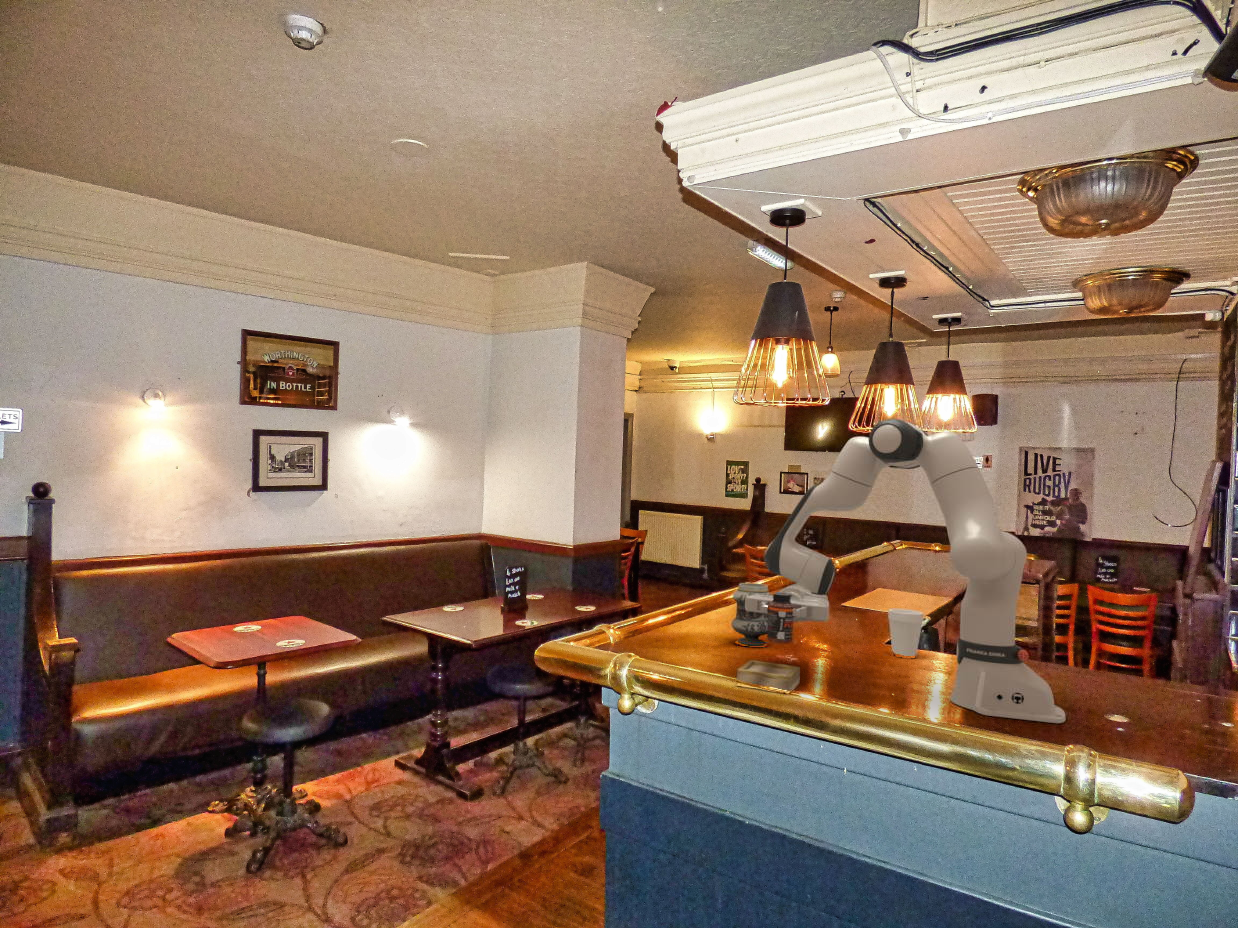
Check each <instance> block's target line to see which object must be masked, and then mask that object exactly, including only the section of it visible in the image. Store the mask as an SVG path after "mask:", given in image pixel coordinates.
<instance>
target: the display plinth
mask: <svg viewBox="0 0 1238 928" xmlns="http://www.w3.org/2000/svg"><path fill="white" fill-rule="evenodd" d="M736 672H737V673H736V681H737V680H740V681H743V682H747V683H752V684H756V685H762V686H769V687H775V688H778V689H782V690H787V691H791V692H792V691H794V689H795V688H797V686H799V684H800V681H801V680H800V678H801V674H800V673H801V666H796V665H788V664H782V663H781V664H780V663H775V662H774V663H773V662H769V661H768V662H767V661H761V660H754V659H750V660H749V661H747V662H746V663H745V664H743V665H741V666H740V667H738V669H737V671H736Z"/></svg>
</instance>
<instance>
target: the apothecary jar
mask: <svg viewBox="0 0 1238 928" xmlns="http://www.w3.org/2000/svg"><path fill="white" fill-rule="evenodd" d="M768 587H769V586H768V585H767V584H763V583H753V582H751V583H750V582H740V583H739V584H738V588H737V590H735V591H734V593H733V594H732V597H733V601H735V602H736V616H735V618H733V620H732V621H731V627H732V629H733V630H734V632H736V633H738V634H740V635H742V636H744V637H741V638H739V639H737V640H738V642H739V643H741V644H745V645H748V646H763V645H764V644H766V643H767V642H766V641H764V640H763V639H759V638H760V637H762V636H765V635H767V626H768V614H766V613H758V612H750V611H747V610H745V598H746V597H747V596H750V595H768V596H773V595H772V594H771V592H769V589H768Z"/></svg>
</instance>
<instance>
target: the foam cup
mask: <svg viewBox="0 0 1238 928" xmlns="http://www.w3.org/2000/svg"><path fill="white" fill-rule="evenodd" d="M887 610H888V611H887V612H888V613H887V614H888V615H887V618H888V624H889V631H890V643H891V644H890V645H891V652H892V651H893V652H894V653H896V654H900V655H904V656H915V655H916V654H917V653H918V648H919V643H920V637H921V630H922V625H923V622H924V612H922V611H919V610H914V609H906V608H889V609H887ZM916 656H917V655H916Z"/></svg>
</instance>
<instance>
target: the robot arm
mask: <svg viewBox="0 0 1238 928" xmlns="http://www.w3.org/2000/svg"><path fill="white" fill-rule="evenodd" d="M887 467H889V468H893V469H902V470H903V469H905V470H913V469H917V468H922V470H923V471H924V473H925V474H926V477H927V479H928V482H929V485H930V486H931V488H932V491H933V493H934V495H935V498H936V500H937V503H938V506H939V508H940V510H941V512H942V515H943V518H944V522H945V526H946V530H947V536H948V540H949V541H948V542H949V546H950V551H949V558H950V563H951V565H952V567H953V568H954V570H955V571H957V573H958V574H960V575H961V576H963V577H966V578H967V579H968V583H967V586H966V591H965V594H964V597H963V599H962V600H961V604H960V620H959V621H960V624H959V628H960V629H959V637H958V638H957V643H956V662H957V670H956V676H955V681H954V684H953V689H952V693H951V694H950V697H949V700H950V701H951V702H952V703H953V704H955V705H957V706H960V707H963V708H965V709H969V710H971V711H974V712H976V713H978V714H980V715H983V716H990V717H991V716H992V717H997V718H999V717H1000V718H1008V719H1015V720H1016V719H1017V720H1025V721H1036V722H1041V723H1042V722H1044V723H1053V724H1062V723H1064V722H1065V721H1066V718H1067V717H1066V712H1065V711H1064V710H1063V709H1062V708H1061V707H1059V706H1058V705H1055V701H1054V700H1055V699H1054V695H1053V690H1052V689H1051V687H1050V685H1049V684H1048V682H1047V681H1046V680H1044V679H1043V678H1042V677H1041V676H1040V675H1039V674H1037V673H1036V672H1035V671H1034V670H1033V669H1032V668H1030V667H1029V666H1028V665H1027V664H1026V663H1025V661H1027V660H1029V657H1030V656H1029V653H1028V651H1027V650H1025V649H1024V648H1022V647H1021V646H1019V645H1017V644H1016V619H1017V618H1016V615H1017V605H1018V599H1019V595H1020V590H1021V586H1022V581H1023V580H1022V579H1023V575H1024V574H1023V572H1024V569H1025V568H1024V567H1025V564H1026V562H1027V559H1028V552H1027V549H1026V546H1025V545H1024V544H1023V542H1022V541H1021V539H1019V538H1018V537H1017V536H1015V535H1013V534H1012V533H1010V532H1007V531H1002V530H1000V529H999V525H998V523H997V519H996V515H995V511H994V510H995V509H994V498H993V496H992V494H991V492H990V490H989V488H988V485H987V483H986V481H985V478H984V476H983V473H982V472H981V470H980V468H979V466H978V464H977V462H976V460H975V457H974V456H973V454H972V452H971V451H970V449H969V448H968V446H967V445H966V443H965V442H964V441H963V439H962V438H961V437H960V435H959V434H957V433H955V432H952V431H942V432H936V433H934V434H931V435H929V434H928V433H927V432H926V431H925V430H923V429H921V428H919V427H917V426H916V425H915V424H913V423H911V422H908V421H905V420H902V419H899V418H888V419H884V420H881V421H880V422H878V423H876V424H875V425H874V427H872V429H871V431H870V433H869V436H868V437H867V436H854V437H851V438H849V440H848V441H847V442H846V443H845V445H844V446H843V448H842V449H841V450H840V452H839V454H838V456H837V458H836V459H835V461H834V463H833V465H832V468H831V470H830V472H829V475H828V476H827V477H826V478H825V480H824V481H822V482H821V483H820V484H815V485H812V486H811V487H810V488H809V489H807V491H806V492H805V493H804V494H803V496H802V497H801V499H800V500H799V501H798V503H797V505H796V506H795V508H794V509H793V511H792V512H791V513H790V515H789V517H788V518H787V520H786V522H785V523H784V524H783V526H782V528H780V531H779V533H778V534H777V535H776V536H775V537H774V539H773V540H772V541H771V542H770V544H769V545H768V547H767V548H766V550H765V553H764V556H763V561H764V564H765V566H766V568H767V570H768V572H770V573H772V574H775V575H777V576H779V577H784V578H786V579H788V580H789V581H792V582H794V583H793V584H791V585H788V586H786V587H784V588H782V589H781V590H779V591H778V592H779V593H788V594H790V601H791V603H792V604H793V605H794V609H793V611H792V612H793V614H792V616H793V623H798V622H800V623H801V622H802V623H803V622H828V621H829V614H830V601H829V598H828V594H829V592H830V590H831V588H832V587H833V584H834V581H835V579H836V571H837V570H836V566H835V564H834V561H833V559H832V558H831V557H829V556H826V555H824V554H822V553H820V552H818V551H816V550H812V549H810V548H809V547H807V546H804V545H802V544H799V543H798V542H797V541H796V537H797V536H798V534H799V533H800V531H801V530H802V528H803V526H804V524H805V523H806V522H807V520H808V519H809V517H810V516H812V514H814V513H816V512H823V511H824V512H825V511H826V512H850V511H855V510H857V509H859V508H861V507H862V506H863V505H865V503H866V502H867V500H868V498H869V496H870V494H871V492H872V490H873V487H874V485H875V483H876V480H877V478H878V477H879V474H880V472H881V471H882V470H884V469H885V468H887ZM771 601H773V595H772V596H768V595H750V596H747V597H746V598H745V610H747V611H750V612H758V613H766V614H768V608H769V603H770V602H771Z"/></svg>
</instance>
